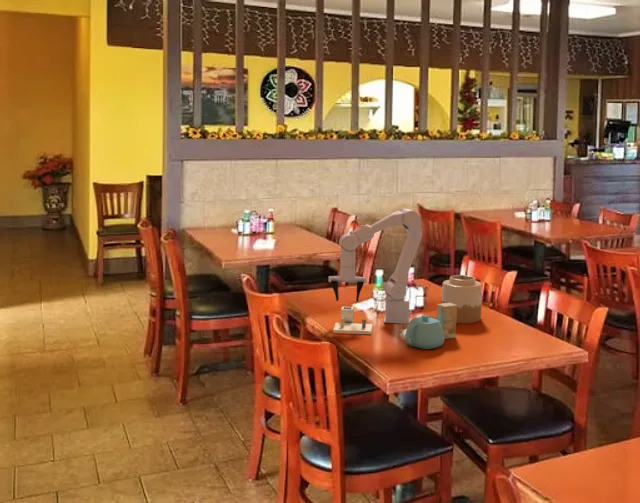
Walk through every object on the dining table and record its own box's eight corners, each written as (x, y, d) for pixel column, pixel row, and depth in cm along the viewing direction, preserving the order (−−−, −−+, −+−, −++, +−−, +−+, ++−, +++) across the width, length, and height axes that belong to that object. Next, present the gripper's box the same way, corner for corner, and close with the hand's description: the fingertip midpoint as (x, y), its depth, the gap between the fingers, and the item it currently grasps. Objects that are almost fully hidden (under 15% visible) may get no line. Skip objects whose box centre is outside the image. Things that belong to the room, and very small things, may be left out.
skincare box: (442, 339, 266) (443, 306, 264) (434, 336, 270) (435, 304, 267) (456, 337, 269) (457, 304, 267) (449, 334, 272) (450, 302, 270)
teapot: (458, 314, 259) (423, 323, 248) (457, 344, 261) (422, 354, 250) (431, 307, 269) (396, 315, 257) (430, 336, 271) (395, 345, 259)
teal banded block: (353, 322, 289) (353, 307, 288) (352, 325, 285) (352, 309, 284) (342, 321, 290) (342, 306, 289) (341, 324, 285) (341, 309, 284)
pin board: (372, 327, 282) (372, 316, 281) (371, 334, 272) (371, 323, 272) (335, 325, 284) (335, 315, 283) (333, 333, 274) (333, 321, 273)
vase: (464, 326, 284) (465, 283, 281) (433, 318, 295) (434, 276, 292) (488, 319, 294) (490, 277, 291) (457, 311, 305) (459, 271, 302)
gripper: (367, 264, 286) (366, 298, 289) (330, 263, 288) (329, 297, 291) (366, 267, 280) (365, 303, 282) (327, 266, 281) (327, 301, 284)
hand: (347, 300), depth 286 cm, fingers open, 7 cm apart
